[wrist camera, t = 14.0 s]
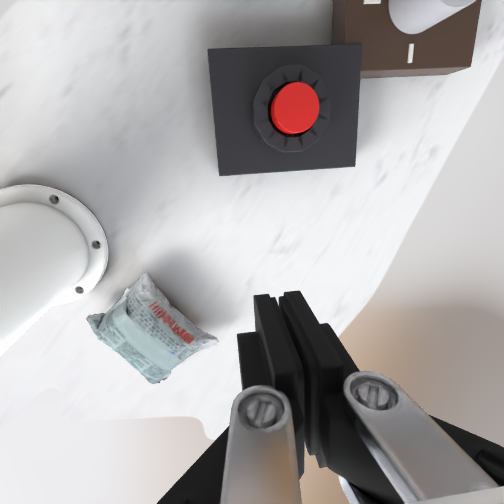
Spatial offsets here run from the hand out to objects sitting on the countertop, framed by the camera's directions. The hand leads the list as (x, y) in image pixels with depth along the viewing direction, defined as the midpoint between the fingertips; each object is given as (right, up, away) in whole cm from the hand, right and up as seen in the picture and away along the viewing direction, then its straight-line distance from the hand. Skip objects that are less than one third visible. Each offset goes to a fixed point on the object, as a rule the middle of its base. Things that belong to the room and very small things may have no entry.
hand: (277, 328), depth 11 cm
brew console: (+12, +25, +16) cm, 32 cm away
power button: (+2, +15, +14) cm, 20 cm away
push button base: (+2, +16, +18) cm, 24 cm away
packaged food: (-12, -5, +24) cm, 27 cm away
